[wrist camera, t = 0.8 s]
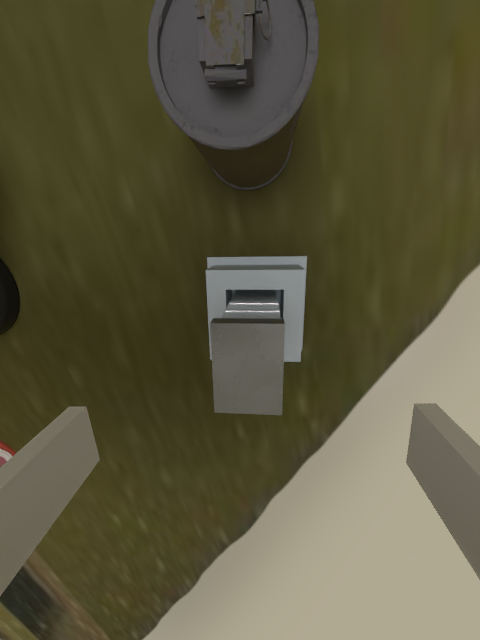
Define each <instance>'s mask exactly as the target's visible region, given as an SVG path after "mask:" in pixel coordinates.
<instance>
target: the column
mask: <svg viewBox="0 0 480 640" xmlns="http://www.w3.org/2000/svg"><path fill="white" fill-rule="evenodd" d="M210 332H211V352H212V372H213V392H214V412H215V413H239V414H265V415H282V400H283V368H284V336H285V322H284V319H282V318H281V317H280V309H279V303H278V301H277V295H276V290H236V292H235V293H234V295H233V297H232V299H231V301H230V302H229V303H228V306H227V308H226V309H225V310H224V314H223V315H222V317H221V318H213V319H212V321H211V322H210Z"/></svg>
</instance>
